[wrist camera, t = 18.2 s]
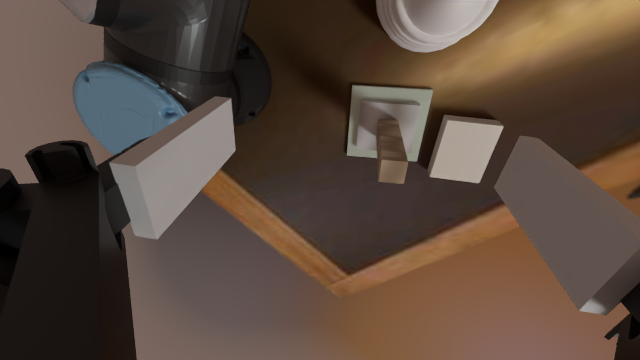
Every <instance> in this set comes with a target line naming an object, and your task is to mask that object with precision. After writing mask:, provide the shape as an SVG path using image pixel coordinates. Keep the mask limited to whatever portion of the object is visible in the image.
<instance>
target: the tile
mask: <svg viewBox="0 0 640 360" xmlns="http://www.w3.org/2000/svg"><path fill="white" fill-rule="evenodd" d="M503 127H504V126H503V125H502V124H501V123H500V122H499V121H497V120H489V119H480V118H471V117H461V116H452V115H444V117H443V120H442V123H441V126H440V130H439V133H438V136H437V140H436V143H435V146H434V149H433V153H432V156H431V159H430V163H429V166H428V169H427V170H428V173H429V176H430V177H434V178H442V179H450V180H458V181H466V182H474V183H479V182H480V180H481V178H482V175H483V173H484V171H485V168H486V166H487V164H488V161H489V159H490V157H491V154H492V152H493V150H494V148H495V145H496V143H497V141H498V138H499V136H500V134H501V131H502V129H503Z"/></svg>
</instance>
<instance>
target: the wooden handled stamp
mask: <svg viewBox="0 0 640 360" xmlns="http://www.w3.org/2000/svg"><path fill="white" fill-rule="evenodd" d="M420 108H421V105H420V104H417V103H401V102H385V101H370V100H361V104H360V115H359V125H358V135H357V145H356V149H364V150H376V151H377V165H378V182H388V183H399V184H404V180H405V175H406V170H407V165H408V159H407V155H406V153H411V150H412V145H413V140H414V136H415V131H416V126H417V122H418V117H419V112H420Z"/></svg>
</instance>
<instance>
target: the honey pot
mask: <svg viewBox="0 0 640 360" xmlns="http://www.w3.org/2000/svg"><path fill="white" fill-rule="evenodd" d="M498 1H499V0H376V8H377V14H378V17H379V20H380V22H381V25H382V27H383V29H384V30H385V31H386V33H387V34H388V36H389V37H390V38H391V39H392V40H393V41H394V42H396V43H397V44H398V45H399V46H401V47H403V48H405V49H408V50H411V51H413V52H432V51H437V50H441V49H444V48H446V47H448V46H450V45H452V44H454V43H456V42H457V41H459V40H460V39H461V38H463V37H465V36H467V35H469V34H470V33H471V32H473V31H474V30H475V29H477V28H478V27H479V26H480V25H481V24H482V23H483V22H484V21H485V20H486V19H487V17H488V16H489V15H490V14H491V13H492V11H493V9H494V8H495V6H496V4H497V2H498Z"/></svg>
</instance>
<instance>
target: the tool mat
mask: <svg viewBox="0 0 640 360" xmlns="http://www.w3.org/2000/svg"><path fill="white" fill-rule="evenodd" d="M432 93H433V89H420V88H403V87H386V86H368V85H352V97H351V109H350V122H349V134H348V146H347V155H348V156H360V157H371V158H377V151H376V150H364V149H356V145H357V135H358V125H359V115H360V104H361V100H370V101H385V102H401V103H417V104H420V105H421V108H420V112H419V117H418V122H417V126H416V131H415V136H414V140H413V145H412V150H411V153H406V155H407V159H408V161H417V159H418V154H419V150H420V145H421V141H422V137H423V132H424V128H425V124H426V119H427V115H428V111H429V106H430V102H431V97H432Z"/></svg>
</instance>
